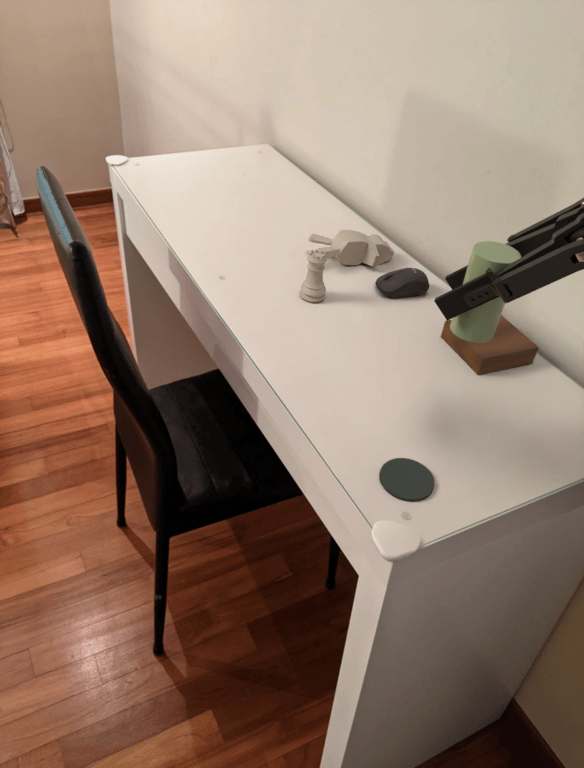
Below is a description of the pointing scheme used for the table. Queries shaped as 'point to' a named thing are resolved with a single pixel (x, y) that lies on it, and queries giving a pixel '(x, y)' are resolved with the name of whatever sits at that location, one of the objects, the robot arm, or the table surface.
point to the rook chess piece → (314, 278)
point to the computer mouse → (403, 283)
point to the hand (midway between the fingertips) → (447, 297)
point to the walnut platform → (493, 348)
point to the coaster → (406, 479)
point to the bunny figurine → (355, 248)
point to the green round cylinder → (486, 317)
